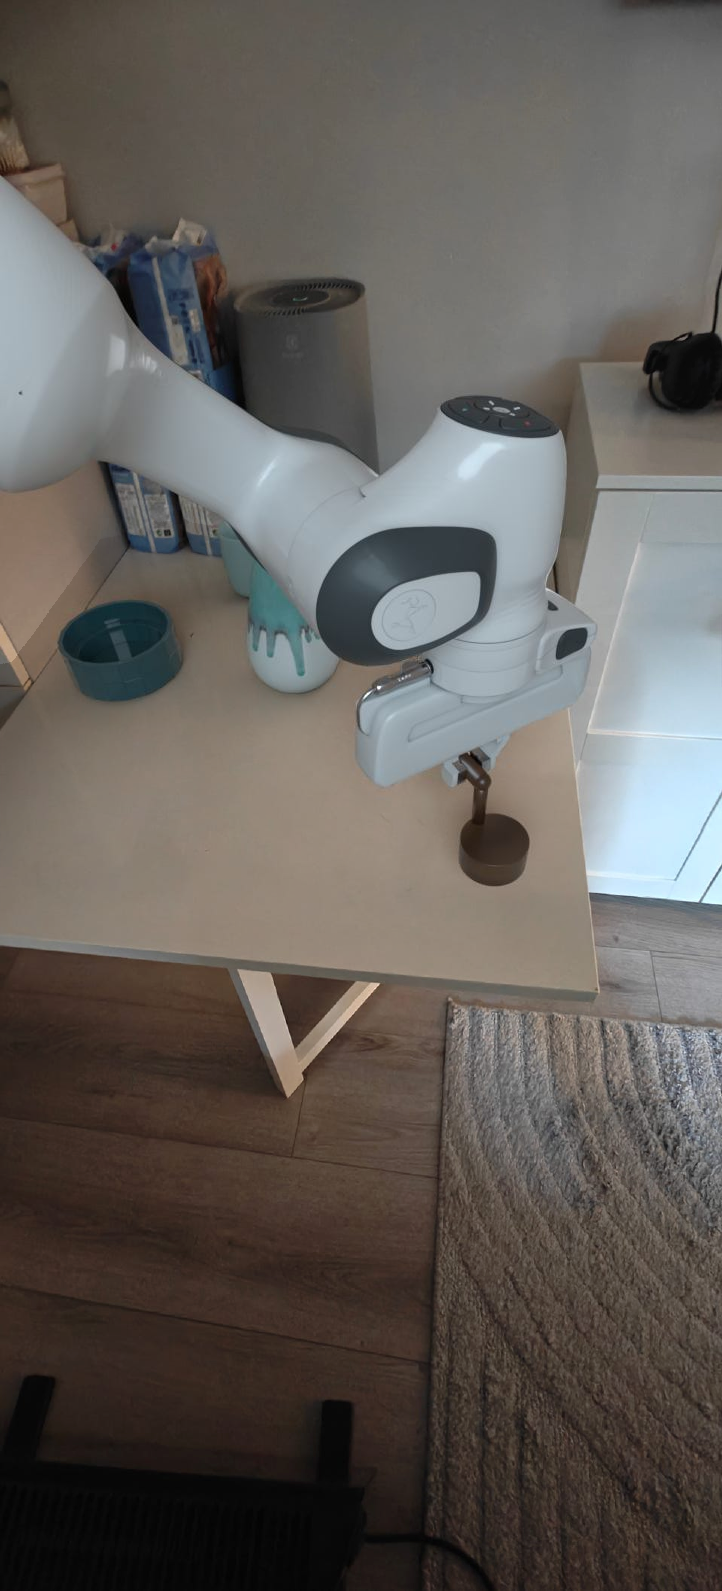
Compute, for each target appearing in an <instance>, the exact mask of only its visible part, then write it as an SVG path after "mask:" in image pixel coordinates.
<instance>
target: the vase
mask: <svg viewBox="0 0 722 1591" xmlns="http://www.w3.org/2000/svg"><path fill="white" fill-rule="evenodd" d="M246 616H247V617H246V628H245V630H246V632H245V647H246V649H245V650H246V655H247V659H248V662H249V665H250V668H252V671H253V672H254V674H255V675H256V677H257V678H258V679H259V680H260V681H261V682H262V683H263V684H265V685H266V686H268V687H269V688H270V689H273V690H275V691H278V692H281V693H285V694H303V693H307V692H311V691H313V690H316V689H318V688H320V687H321V686H322V685H324V684H325V683H326V682H328V680H330V678H331V677H332V676H333V675H334V672H335V671H336V669H337V668H338V664H339V662H340V659H341V658H339V657H338V656H336V655H335V654H334V653H333V652H331V651H330V650H329V648H328V647H327V646H326V645H325V643H324V642H323V641H322V640H321V639H320V638H319V637H318V635H317V634H316V633H315V632H314V630H313V629H312V628H311V627H310V626H309V624H308V623H307V622H306V621H305V619H304V618H303V617H302V615H301V614H300V613H299V612H298V610H297V609H296V608H295V606H294V605H293V604H292V602H291V601H290V600H289V599H288V597H287V596H286V595H285V593H284V592H283V591H282V590H281V588H280V587H279V586H278V585H277V583H276V582H275V581H274V580H273V578H272V577H271V576H270V575H269V573H268V572H266V571H265V570H264V569H263V568H262V567H261V566H260V565H259V564H258V562H257V561H256V560H255V559H254V562H253V566H252V571H251V578H250V594H249V598H248V605H247V614H246Z"/></svg>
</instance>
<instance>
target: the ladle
mask: <svg viewBox="0 0 722 1591" xmlns="http://www.w3.org/2000/svg"><path fill="white" fill-rule="evenodd" d="M458 760H459V761H460V764H463V765H464V766H465V767H466V768H467V775H466V778H467V779H466V781H468V782H469V783H470V785H472V787H473V795H472V806H471V814H470V815H471V816H470V817H471V819H469V820H467V822H466V823H465V824H464V825H463V826H462V828H461V830H460V834H459V842H458V843H459V845H458V864H459V868H460V869H461V870H462V872H463V873H464V875H466V877H467V878H469V879H470V880H472V881H473V882H475V883H477V884H480V885H482V886H486V887H503V886H506V885H509V884H512V883H514V882H516V881H517V880H518V879H519V878H520V877H521V876H522V875H523V873H524V871H525V869H526V866H527V860H528V854H529V849H530V835H529V833H528V831H527V829H526V828H525V826H524V825H523V824H522V823H520V822H519V821H518V820H517V819H515V818H514V817H512V816H509V815H506V814H503V813H498V812H497V813H496V812H488V813H487V804H488V795H489V789H490V787H491V786H492V783H493V782H492V777H491V775H490V774H489V772H486V771H485V770H484V769H483V768H482V767H481V766H480V765H479V764H478V763H477V762H476V761H475V760H474V759H473V758H472V757H471V756H470V753H468V752H466V753H464V754H462V755H459V757H458Z"/></svg>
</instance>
